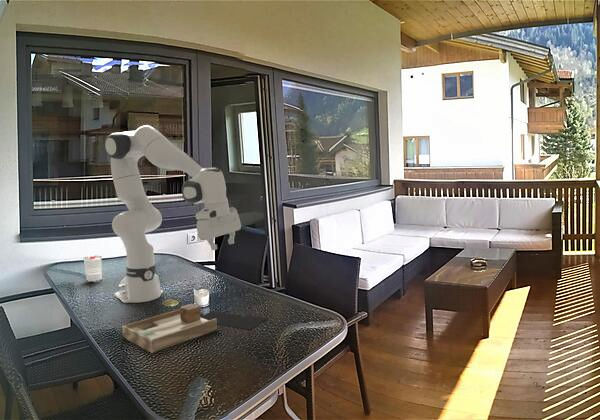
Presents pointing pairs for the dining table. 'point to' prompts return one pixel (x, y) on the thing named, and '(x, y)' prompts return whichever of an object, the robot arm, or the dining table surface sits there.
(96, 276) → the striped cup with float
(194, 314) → the block
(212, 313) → the black flat board
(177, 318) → the box
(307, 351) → the dining table surface
